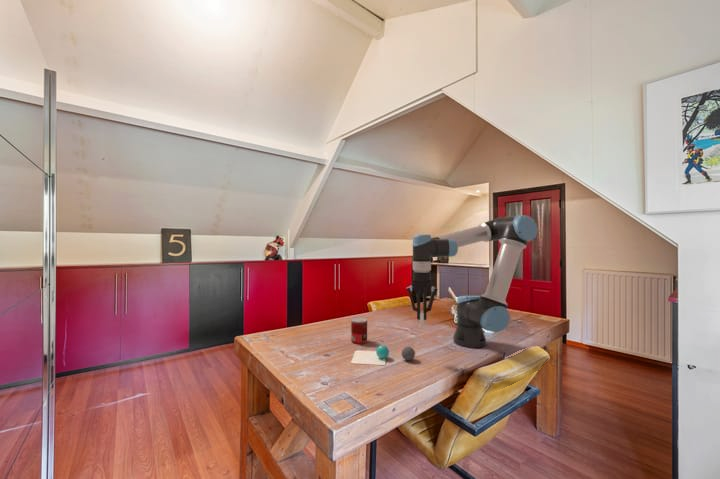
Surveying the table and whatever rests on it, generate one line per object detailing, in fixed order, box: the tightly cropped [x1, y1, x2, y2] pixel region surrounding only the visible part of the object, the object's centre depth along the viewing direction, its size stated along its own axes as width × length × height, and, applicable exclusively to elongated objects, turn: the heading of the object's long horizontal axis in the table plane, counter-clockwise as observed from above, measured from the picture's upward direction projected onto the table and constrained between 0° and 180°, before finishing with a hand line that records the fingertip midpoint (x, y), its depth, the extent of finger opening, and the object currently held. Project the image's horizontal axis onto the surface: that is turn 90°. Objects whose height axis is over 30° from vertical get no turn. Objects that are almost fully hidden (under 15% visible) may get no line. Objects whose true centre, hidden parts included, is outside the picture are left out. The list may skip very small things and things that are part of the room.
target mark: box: [350, 350, 387, 366], centre depth 127 cm, size 14×14×1 cm
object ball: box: [375, 344, 390, 359], centre depth 126 cm, size 6×6×6 cm
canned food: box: [350, 317, 368, 345], centre depth 147 cm, size 8×8×11 cm
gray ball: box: [401, 346, 416, 362], centre depth 125 cm, size 6×6×6 cm
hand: (421, 327), depth 124 cm, fingers closed
